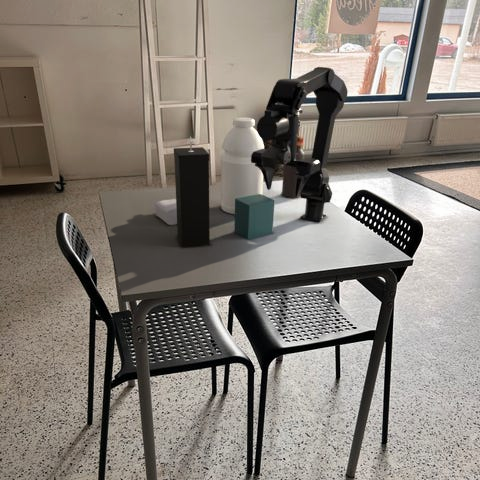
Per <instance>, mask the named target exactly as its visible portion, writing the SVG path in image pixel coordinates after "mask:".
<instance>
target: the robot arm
mask: <svg viewBox="0 0 480 480" xmlns="http://www.w3.org/2000/svg"><path fill="white" fill-rule="evenodd" d="M311 93H313V94H314V96H315V106H316V110H317V112H318V119H317V124H316V129H315V136H314V142H313V147H312V151H311V152H312V153H311V157H304V159H302V160H296V158H298V156H299V153H296V150H297V142H299V141H300V137H301V136H299V134H298V133H299V122H300V115H301V114H303V109H302V107H301V106H302V105H303V104H304V103H305V102H306V101H307V97H308V95H310V94H311ZM347 98H348V88H347V85H346V83H345V81H344V80H343V79H342V78H341V77H340V76H339V75H337V74H336V72H335V70H334V69H333V68H331V67H327V66H326V67H325V66H317V67H314V68H313V70H310V71H309V72H306V73H304V74H302V75H299V76H298V77H296V78H280V79H278V80H277V81H276V82H275V84H274V86H273V88H272V92H271V93H270V95H269V99H268V101H267V104H266V107H265V110H264V115H262V117H260V118H259V120H258V121H257V124H256V131H257V132H258V134H259V136H260V137H261V138H262V141H263V140H264V141H265V142H266V141H267V142H268V141H271V145H270V146H269V147H267V148H264V149H260V150H257V151H254V152H253V153H252V155H251V163H256V164H255V166H256V167H258V168H259V169H260V170H261V171H262V174H263V181H264V183H265V185H266V189H267V190H268V191H270V190H271V189H272V186H273V185H272V184H273V178H274V170H278V169H280V167H281V165H283V166H284V165H288V166H293V167H296V170H297V171H298V172H297V173H295V175H296V177H297V181H296V191H295V195H296V197H298V196H299V194H300V197H298V198H300V199H305V200H306V201H305V210H304V214H302V216H300V219H301V220H307V221H311V222H316V223H321V222H322V221H323V220H324V219H325V218H326V217H327V214H324V208H325V204H326V203H331V200H332V198H333V191H332V188H331V187H330V175H329V173H328V170H327V164H328V158H329V153H330V147H331V143H332V137H333V134H334V133H333V131H334V127H335V121H336V117H337V116H338V115H339V113H340V112H342V110H343V109H344V105H345V101H346V100H347ZM298 136H299V137H298Z"/></svg>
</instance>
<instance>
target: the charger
mask: <svg viewBox="0 0 480 480" xmlns="http://www.w3.org/2000/svg"><path fill="white" fill-rule="evenodd" d="M154 207H155V216H157V217H158V218H159V219H161V220H162V221H163V222H165V223H166V224H167V225H169V226H173V225H177V208H176V198H172V199H161V200H158V201H157V202H156V203H155V204H154Z"/></svg>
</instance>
